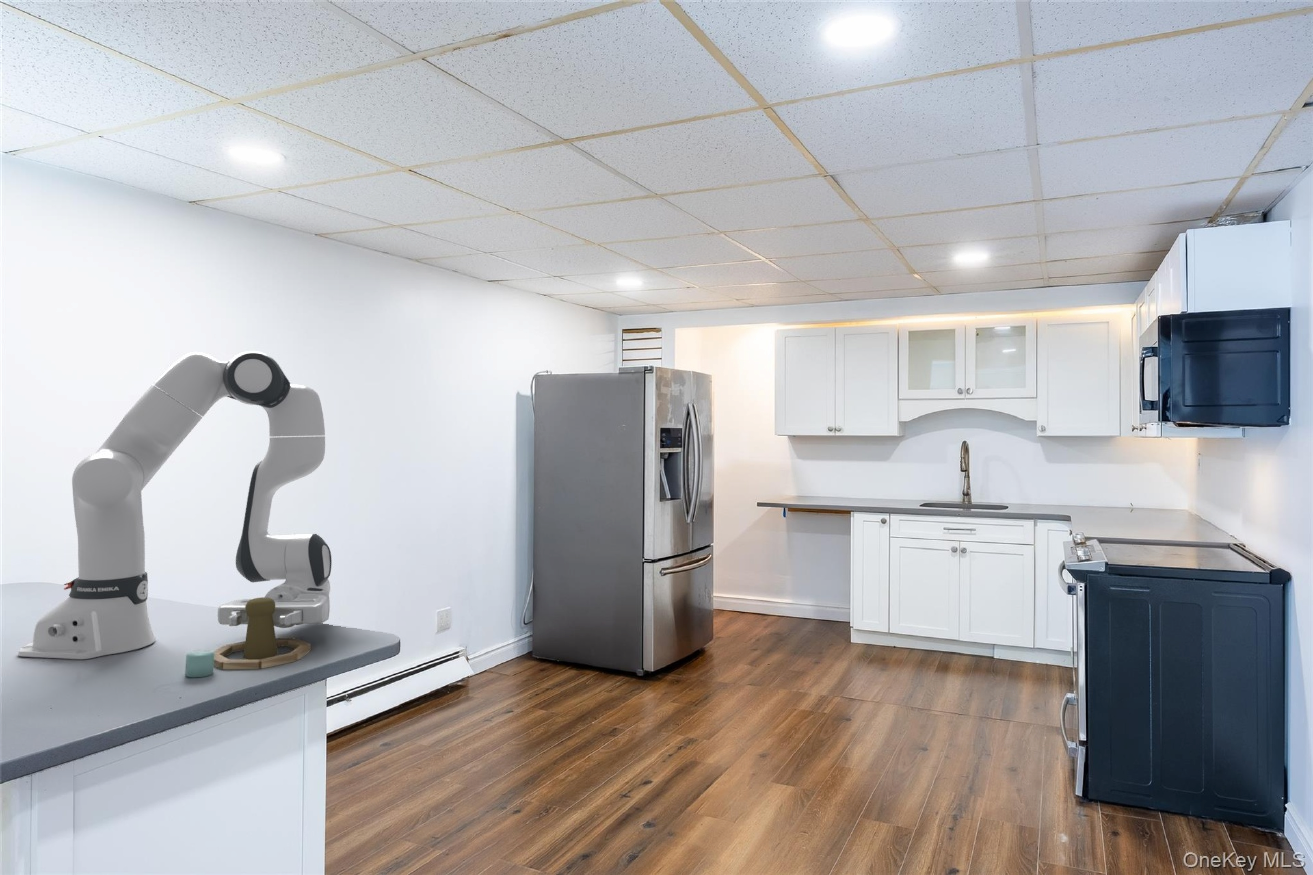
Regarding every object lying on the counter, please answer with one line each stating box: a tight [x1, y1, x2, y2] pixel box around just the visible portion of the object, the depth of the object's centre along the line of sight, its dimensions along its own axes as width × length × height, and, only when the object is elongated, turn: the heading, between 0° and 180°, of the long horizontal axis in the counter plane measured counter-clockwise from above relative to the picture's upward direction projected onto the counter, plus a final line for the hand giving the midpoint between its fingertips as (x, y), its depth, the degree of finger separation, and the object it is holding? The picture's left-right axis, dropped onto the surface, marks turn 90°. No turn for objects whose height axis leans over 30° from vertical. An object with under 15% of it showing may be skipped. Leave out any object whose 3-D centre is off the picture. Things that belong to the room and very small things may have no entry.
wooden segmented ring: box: [213, 637, 311, 670], centre depth 156 cm, size 17×17×1 cm
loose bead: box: [184, 650, 215, 678], centre depth 145 cm, size 4×4×4 cm
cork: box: [242, 596, 279, 660], centre depth 157 cm, size 6×6×11 cm
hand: (258, 621), depth 155 cm, fingers open, 8 cm apart
